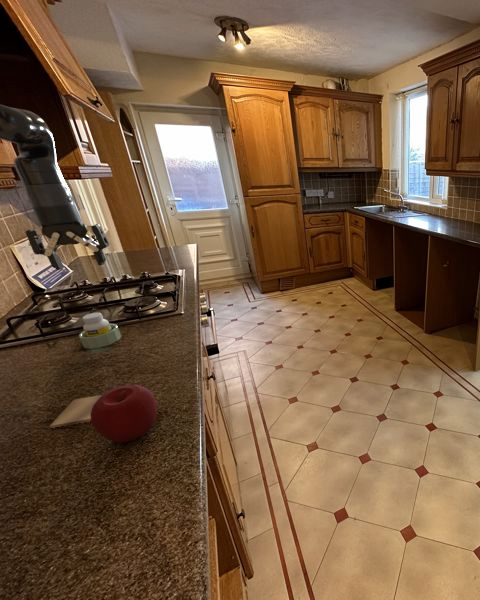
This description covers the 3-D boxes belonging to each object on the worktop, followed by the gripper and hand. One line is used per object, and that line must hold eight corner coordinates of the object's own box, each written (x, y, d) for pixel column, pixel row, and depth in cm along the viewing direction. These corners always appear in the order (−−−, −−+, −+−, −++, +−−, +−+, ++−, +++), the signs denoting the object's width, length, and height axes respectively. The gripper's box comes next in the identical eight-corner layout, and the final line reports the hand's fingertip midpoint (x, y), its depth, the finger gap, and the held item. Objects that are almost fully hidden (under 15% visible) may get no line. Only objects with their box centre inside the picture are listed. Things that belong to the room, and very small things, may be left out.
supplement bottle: (92, 353, 90) (77, 322, 86) (93, 344, 94) (79, 315, 89) (117, 346, 93) (104, 316, 89) (117, 338, 97) (104, 309, 93)
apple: (119, 461, 58) (96, 419, 54) (95, 440, 62) (73, 400, 58) (174, 425, 65) (158, 386, 61) (149, 409, 70) (133, 371, 65)
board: (51, 428, 65) (49, 425, 65) (75, 402, 72) (73, 399, 72) (109, 418, 67) (108, 415, 67) (127, 393, 74) (126, 390, 74)
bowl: (79, 355, 89) (72, 340, 87) (96, 340, 96) (89, 325, 94) (114, 350, 91) (108, 335, 89) (128, 336, 98) (122, 321, 96)
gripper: (96, 199, 84) (119, 259, 90) (22, 202, 78) (53, 266, 85) (84, 203, 77) (110, 267, 84) (3, 207, 72) (37, 275, 79)
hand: (81, 266), depth 85 cm, fingers open, 8 cm apart
